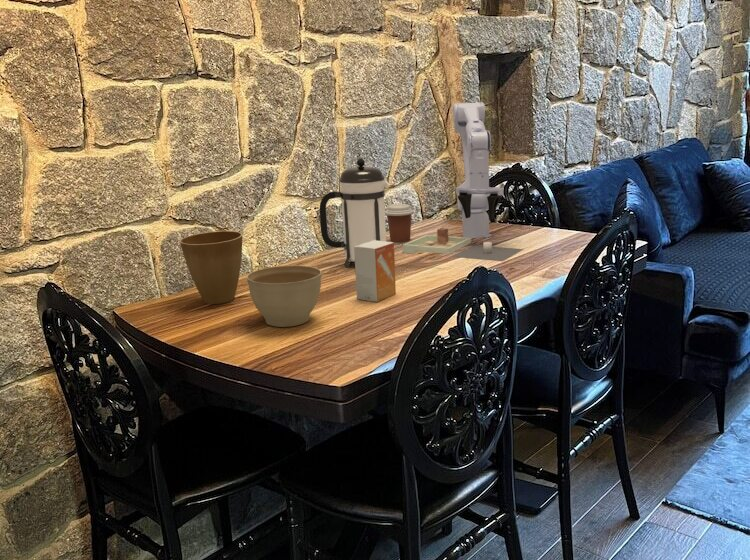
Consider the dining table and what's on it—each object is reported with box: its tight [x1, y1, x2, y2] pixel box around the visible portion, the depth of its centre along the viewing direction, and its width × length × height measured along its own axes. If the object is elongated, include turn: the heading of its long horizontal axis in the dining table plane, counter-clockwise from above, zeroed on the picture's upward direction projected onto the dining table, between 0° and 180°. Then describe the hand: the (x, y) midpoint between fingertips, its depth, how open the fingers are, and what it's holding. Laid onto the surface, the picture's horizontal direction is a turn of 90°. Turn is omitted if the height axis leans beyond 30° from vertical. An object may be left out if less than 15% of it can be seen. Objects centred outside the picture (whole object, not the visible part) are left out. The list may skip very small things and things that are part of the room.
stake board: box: [450, 241, 524, 262], centre depth 208 cm, size 16×16×4 cm
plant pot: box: [179, 230, 243, 305], centre depth 175 cm, size 15×15×16 cm
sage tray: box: [401, 234, 472, 255], centre depth 220 cm, size 16×16×2 cm
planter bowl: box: [246, 265, 323, 328], centre depth 157 cm, size 16×16×11 cm
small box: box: [354, 240, 397, 303], centre depth 172 cm, size 8×6×13 cm
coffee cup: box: [385, 203, 414, 246], centre depth 231 cm, size 9×9×12 cm
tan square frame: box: [419, 227, 459, 248], centre depth 220 cm, size 10×10×5 cm
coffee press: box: [319, 158, 391, 269], centre depth 203 cm, size 17×16×30 cm
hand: (479, 218), depth 216 cm, fingers open, 7 cm apart
